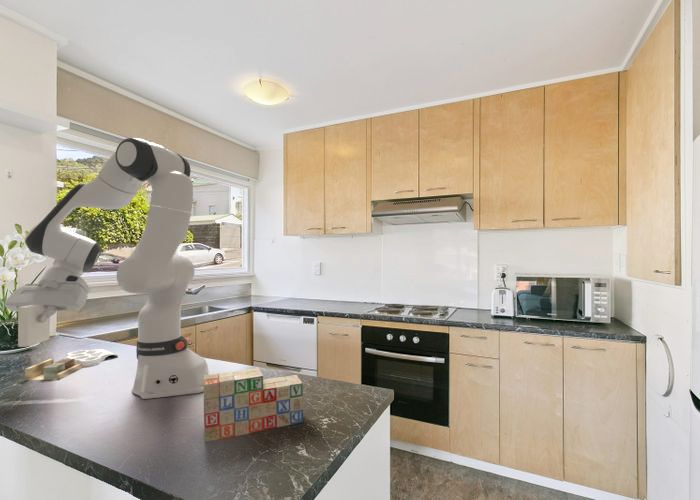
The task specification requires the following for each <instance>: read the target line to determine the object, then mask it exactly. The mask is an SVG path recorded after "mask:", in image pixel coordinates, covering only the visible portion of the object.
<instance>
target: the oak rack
mask: <svg viewBox="0 0 700 500" xmlns="http://www.w3.org/2000/svg"><path fill="white" fill-rule="evenodd" d="M53 363H55V362H54V358H49V359H46V360H44V361H41V362H38V363H36V364H33V365H31V366H29V367H26V368H25V369H24V381H29V382H30V381H48V380H51V381H52V380H61V379H63V378H65V377H67V376H69V375H71V374H73V373H75V372H78V371H79V370H81V369H83V367H82V364H77V365H75V366H73V367H71V368H69V369H67V370H65V371H62V372H60V373H58V374H57V378H54V379H44V373H43V368H44V367H46V366H48V365H51V364H53Z"/></svg>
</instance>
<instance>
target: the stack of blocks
mask: <svg viewBox="0 0 700 500" xmlns="http://www.w3.org/2000/svg"><path fill="white" fill-rule="evenodd" d="M303 422H304V388H303V382H302V381H301V379H300V378H299V376H298V375H297V374H294V375H293V374H292V375H287V376H280V377H279V376H278V377H271V378H265V379H264V374H263V373H262V371H261V370H260V368H259V367H256V368H255V367H253V368H250V369H249V368H248V369H239V370H234V371H228V372H227V371H226V372H221V373H215V374H211V375H204V391H203V424H204V425H203V426H204V434H203V435H204V438H203V439H204V442H205V443H206V442H209V441H210V442H211V441H216V440H222V439H227V438H232V437H239V436H243V435H248V434H251V433H255V432H261V431H267V430H271V429H276V428H283V427H286V426H290V425H291V426H293V425H298V424H301V423H303Z"/></svg>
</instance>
